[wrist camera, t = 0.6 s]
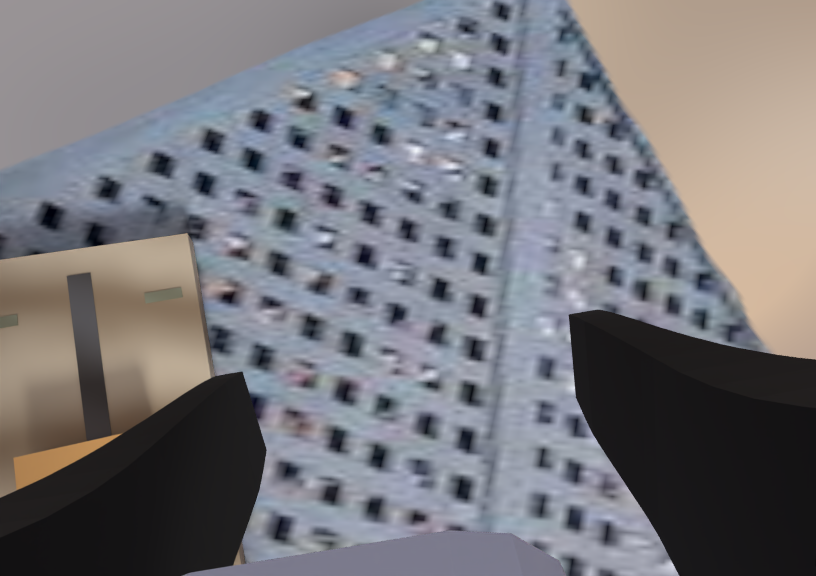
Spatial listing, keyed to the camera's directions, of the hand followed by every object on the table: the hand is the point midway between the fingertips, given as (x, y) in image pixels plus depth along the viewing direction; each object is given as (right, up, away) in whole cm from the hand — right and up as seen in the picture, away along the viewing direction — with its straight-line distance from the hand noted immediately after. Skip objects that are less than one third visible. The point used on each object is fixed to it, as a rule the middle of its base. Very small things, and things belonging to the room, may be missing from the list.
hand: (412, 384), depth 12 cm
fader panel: (-17, -7, +19) cm, 26 cm away
